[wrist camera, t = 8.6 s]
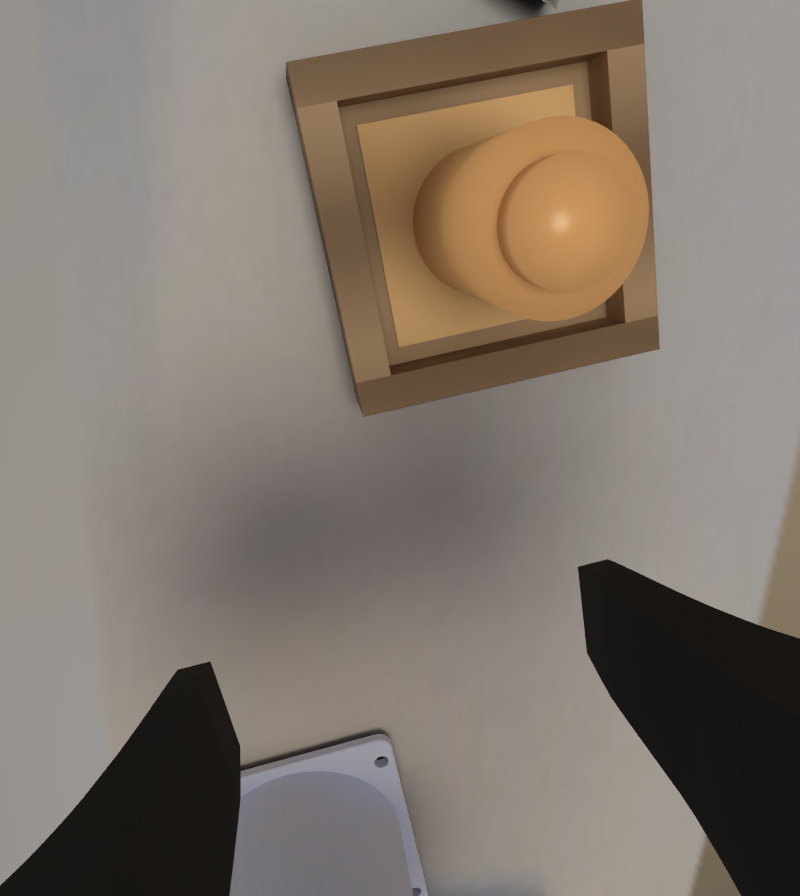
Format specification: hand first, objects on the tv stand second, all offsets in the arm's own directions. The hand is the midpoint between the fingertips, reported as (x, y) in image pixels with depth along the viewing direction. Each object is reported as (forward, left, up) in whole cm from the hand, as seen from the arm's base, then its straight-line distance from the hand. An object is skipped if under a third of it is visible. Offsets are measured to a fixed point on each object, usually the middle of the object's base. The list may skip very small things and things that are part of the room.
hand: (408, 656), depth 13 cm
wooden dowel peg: (+7, -5, -9) cm, 12 cm away
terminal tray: (+7, -5, -9) cm, 13 cm away
